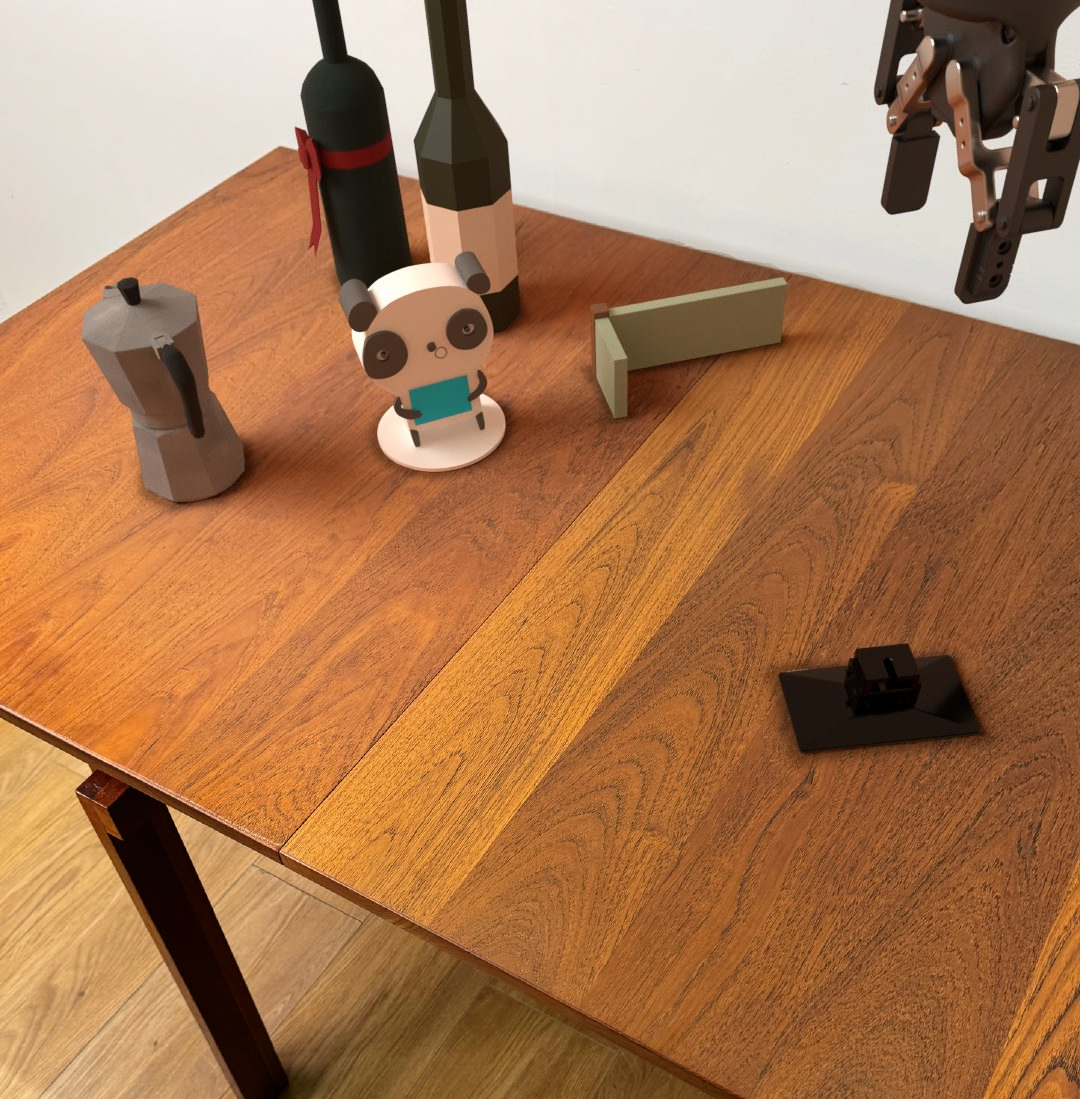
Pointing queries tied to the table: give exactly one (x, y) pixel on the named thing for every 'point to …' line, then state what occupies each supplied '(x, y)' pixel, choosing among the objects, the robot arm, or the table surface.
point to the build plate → (877, 701)
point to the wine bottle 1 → (351, 159)
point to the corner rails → (681, 331)
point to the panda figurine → (428, 361)
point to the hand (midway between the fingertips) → (937, 251)
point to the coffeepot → (164, 388)
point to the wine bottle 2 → (466, 167)
